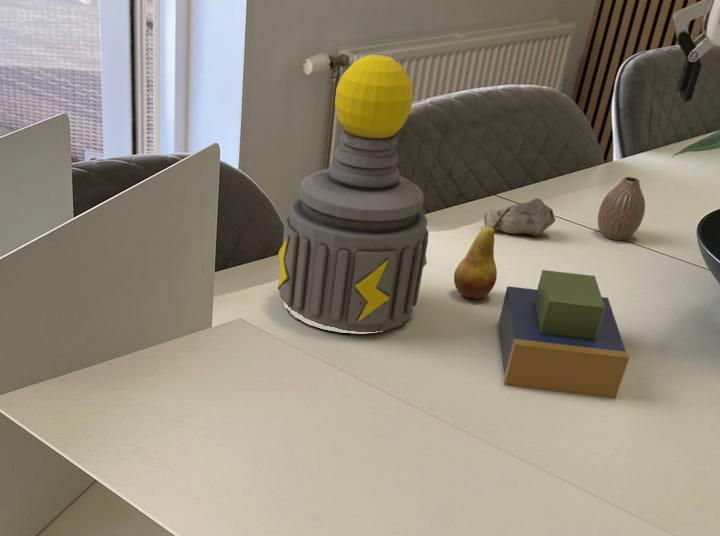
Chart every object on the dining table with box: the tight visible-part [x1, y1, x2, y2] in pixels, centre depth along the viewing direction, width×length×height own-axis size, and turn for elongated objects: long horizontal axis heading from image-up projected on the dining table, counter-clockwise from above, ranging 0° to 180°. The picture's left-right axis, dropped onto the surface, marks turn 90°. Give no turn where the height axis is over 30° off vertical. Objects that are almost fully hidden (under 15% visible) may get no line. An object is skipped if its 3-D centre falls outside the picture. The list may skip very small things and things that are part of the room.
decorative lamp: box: [277, 54, 429, 332], centre depth 124 cm, size 19×19×30 cm
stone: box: [483, 197, 556, 237], centre depth 158 cm, size 10×5×8 cm
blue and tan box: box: [498, 285, 630, 399], centre depth 124 cm, size 13×18×5 cm
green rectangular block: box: [534, 269, 605, 340], centre depth 121 cm, size 7×10×4 cm, turn 171°
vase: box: [597, 176, 646, 241], centre depth 158 cm, size 7×7×9 cm
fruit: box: [453, 208, 510, 300], centre depth 135 cm, size 6×6×12 cm
